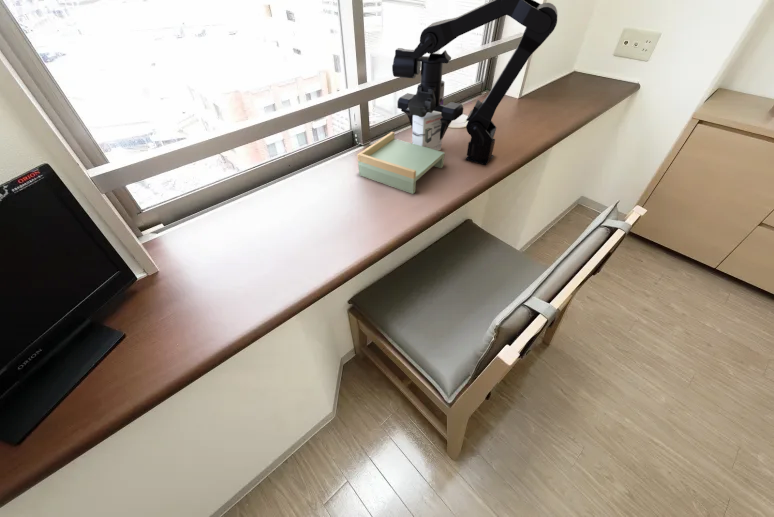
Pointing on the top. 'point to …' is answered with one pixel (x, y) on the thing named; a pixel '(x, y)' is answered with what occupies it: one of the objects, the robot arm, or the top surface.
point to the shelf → (397, 162)
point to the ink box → (427, 130)
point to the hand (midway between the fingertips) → (427, 135)
